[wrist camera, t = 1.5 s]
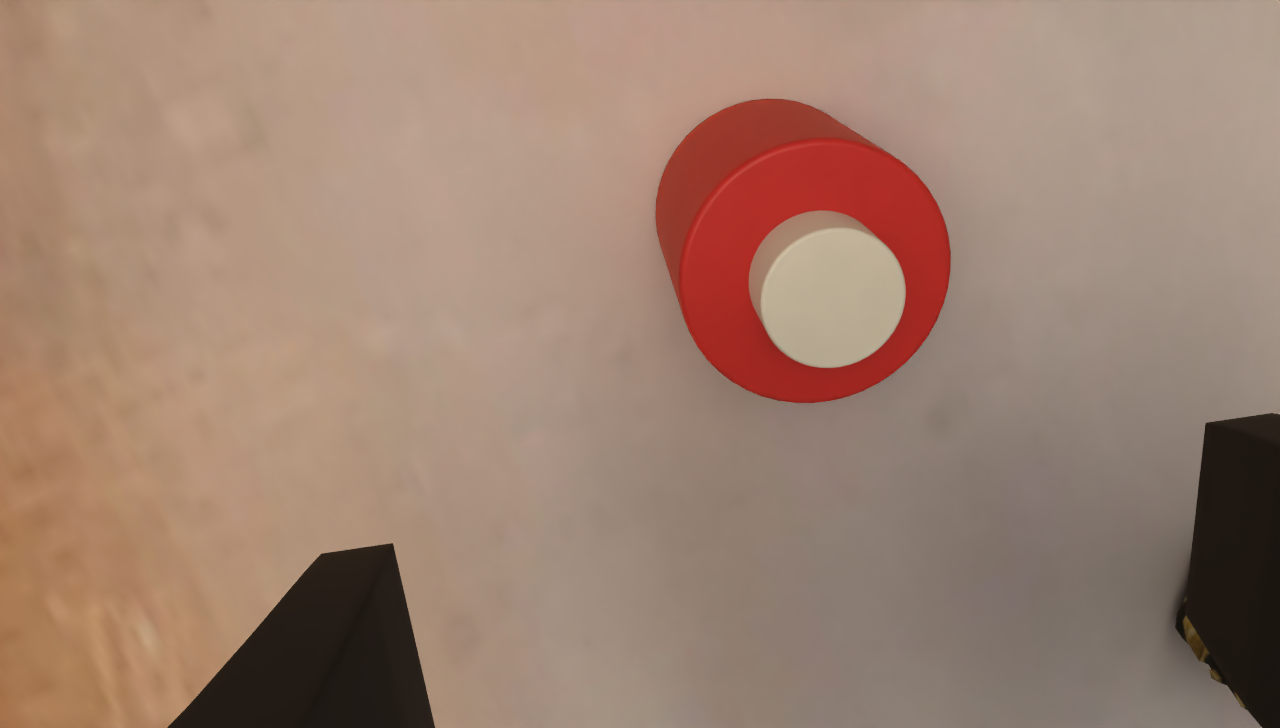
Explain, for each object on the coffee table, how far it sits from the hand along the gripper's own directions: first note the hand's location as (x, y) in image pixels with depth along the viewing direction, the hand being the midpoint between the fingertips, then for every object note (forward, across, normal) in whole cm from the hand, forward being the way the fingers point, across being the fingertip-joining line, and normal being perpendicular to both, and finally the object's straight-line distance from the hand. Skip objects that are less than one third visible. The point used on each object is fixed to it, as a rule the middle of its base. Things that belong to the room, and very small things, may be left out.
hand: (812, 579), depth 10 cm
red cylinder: (+9, -2, -1) cm, 10 cm away
